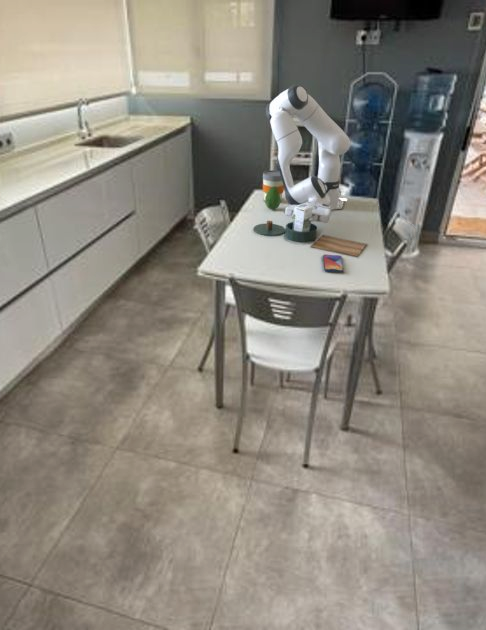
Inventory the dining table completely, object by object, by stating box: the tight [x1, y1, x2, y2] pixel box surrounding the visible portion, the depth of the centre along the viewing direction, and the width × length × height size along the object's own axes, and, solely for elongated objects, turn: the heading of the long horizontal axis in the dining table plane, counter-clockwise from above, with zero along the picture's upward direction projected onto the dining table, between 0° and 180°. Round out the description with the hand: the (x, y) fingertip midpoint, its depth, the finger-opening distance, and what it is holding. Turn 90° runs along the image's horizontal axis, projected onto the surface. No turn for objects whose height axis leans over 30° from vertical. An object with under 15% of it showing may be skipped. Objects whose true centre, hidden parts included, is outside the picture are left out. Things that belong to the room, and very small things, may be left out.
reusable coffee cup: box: [262, 169, 285, 202], centre depth 245 cm, size 13×13×15 cm
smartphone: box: [322, 253, 345, 273], centre depth 178 cm, size 7×15×1 cm, turn 171°
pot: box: [284, 221, 318, 244], centre depth 201 cm, size 14×14×5 cm
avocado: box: [264, 186, 281, 211], centre depth 233 cm, size 8×8×12 cm
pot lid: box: [252, 220, 286, 237], centre depth 207 cm, size 15×15×5 cm
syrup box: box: [292, 203, 313, 232], centre depth 198 cm, size 6×6×14 cm
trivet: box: [311, 234, 367, 258], centre depth 195 cm, size 15×20×1 cm
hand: (301, 218), depth 197 cm, fingers closed on syrup box, 6 cm apart
